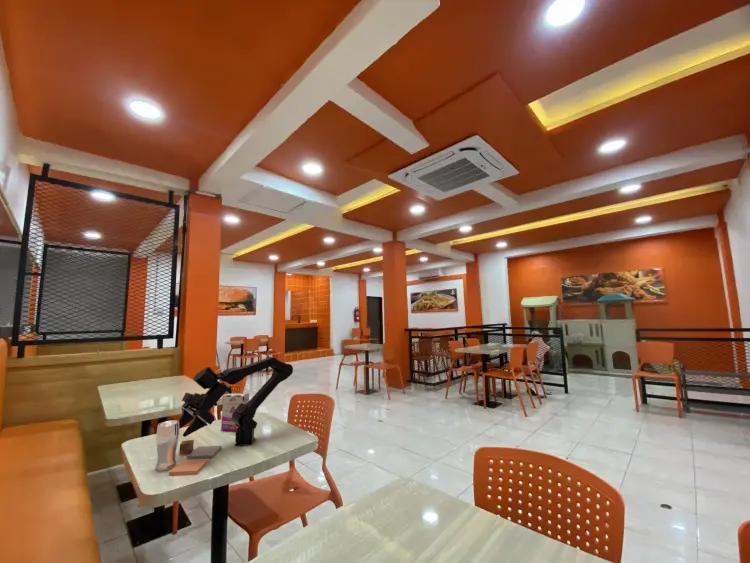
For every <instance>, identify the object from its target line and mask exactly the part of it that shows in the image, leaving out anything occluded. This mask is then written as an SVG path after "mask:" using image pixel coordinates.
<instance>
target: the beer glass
mask: <svg viewBox="0 0 750 563" xmlns="http://www.w3.org/2000/svg"><path fill="white" fill-rule="evenodd" d="M179 440H180V429H179V420H175V419H173V420H166V421H162V422H160V423H158V424H157V429H156V437H155V442H156V443H155V445H156V446H155V447H156V451H157V452H156V453H157V462H156V464H155V465H156V466H155V471H157V472H165V471H170V470H172V469H173V468H174V467H175V466H177V461H176V459H177V458H176V452H177V448H178V444H179Z"/></svg>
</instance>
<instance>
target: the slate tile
mask: <svg viewBox="0 0 750 563" xmlns="http://www.w3.org/2000/svg"><path fill="white" fill-rule="evenodd" d="M222 447H223V445H204V446H198V447H196V448H195V449H193V451H192V453H191V454H187V457H186V458H187V459H186V460H193V459H209V460H211V459H213V458H215V456H216V455H217V454H218V453H220V451H221V450H222V449H223V448H222Z"/></svg>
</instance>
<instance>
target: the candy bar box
mask: <svg viewBox="0 0 750 563" xmlns="http://www.w3.org/2000/svg"><path fill="white" fill-rule="evenodd" d="M249 401H250V393H246V392H245V393H241V392H237V393H235V392H232V393H231V394H229V393H225V394H224V395H223V396H222V401H221V404H222V405H221V427H220V428H221V432H231V433H233V432H235V433H236V432H237V428H238V427H237V426H236V424H235V423H234V422H233V421H232V414H233V413H234V412H235V411H234V410H235V409H236V408H237V407H238V406H239V405H240V404H241V403H243V404H246V403H248V402H249Z"/></svg>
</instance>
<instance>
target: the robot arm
mask: <svg viewBox="0 0 750 563" xmlns="http://www.w3.org/2000/svg"><path fill="white" fill-rule="evenodd" d="M268 368H270V369H272V374H271V376H270V378H268V379H267V381H266V382H265V383H264V384H263V385H262V386H261V388H260V389H258V391H256V393H255V394H254V395H253V396H252V398H251V399H249V402H248V403H246V404H243V403H241V404H240V405H239V406H238V407H237V408H236V409H235V410H234V411H235V412H234V413H233V414H232V421H233V422H234V423H235V424H236V426H237V427H238V428H237V432H235V438H234V440H235V444H234V446H252V444H253V443H254V441H255V440H256V437H255V429H256V428H257V425H258V422H257V421H255V420H254V418H255V415H256V413H257V410H258V408H259V407H260V406H261V405H262V404H263V403H264V401H265V400H266V399H267V398H268V397H269V396H270V395H271V393H272V392H273V391H274V390H275V389H276V388H277V386H278V385H279V384H280V383H282V382H284V381H286V380H287V379H288V378H289V377H290V376H292V374H293V373H294V367H293V365H292V364H291V363H285V362H283V361H280V360H279V359H277V358H275V357H272V356H267V357H266V358H263V359H260V360H257V361H254V362H251V363H249V364H246V365H244V366H238V367H236V366H235V367H230V368H226V369H224V370H223V371H222V372H218V373H216V372H214V371H213V370H212V368H211V367H209V366H206V367H205V368H203V369H201V370H200V371H199V372H198V371H197V373H195V375H194V376H193V382H195V383H196V384H197V385H198V386H199V387H201V388H202V389H203V390H207V391H206V392H205V393H201V394H200V393H197V392H195V393H190V392H185V393H184V395H183V397H182V399H181V401H182V402H184V403H183V404H182V405H181V416H180V418H179V420H178V421H179V430H180V429H181V428H183V427H185V426H186V425H187V424H189V423H190V424H189V425H188V427H187V428H186V429H185V431H184V432H183V434H182V437H184V438H185V437H188V436H189V435H191V434H193V433H194V432H196V431H198V430H200V429H202V428H204V427H207V426H209V425H210V426H211V425H212V424H213V422H214V421H215V416H214V415H213V414H212V413H210V411H211V409H212V408H213V407H217V406H218V403H217V402H219V400H220V399H221V398H223V395H225V394H228V393H229V394H231V393H233V391H232V386H230V385H236V384H239V382H241V381H243V380H244V379H246V377H248V376H250V375H252V374H254V373H258V372H260V371H264V370H265V369H268ZM227 384H228V385H227Z"/></svg>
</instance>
